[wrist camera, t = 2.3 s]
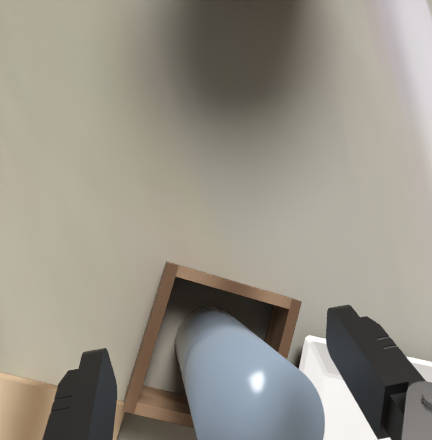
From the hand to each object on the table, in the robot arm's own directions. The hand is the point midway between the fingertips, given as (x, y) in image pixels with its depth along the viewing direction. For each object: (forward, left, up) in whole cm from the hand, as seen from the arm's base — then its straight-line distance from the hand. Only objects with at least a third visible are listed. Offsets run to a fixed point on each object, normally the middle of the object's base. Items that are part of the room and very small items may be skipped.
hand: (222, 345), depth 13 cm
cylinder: (+3, -3, -17) cm, 18 cm away
